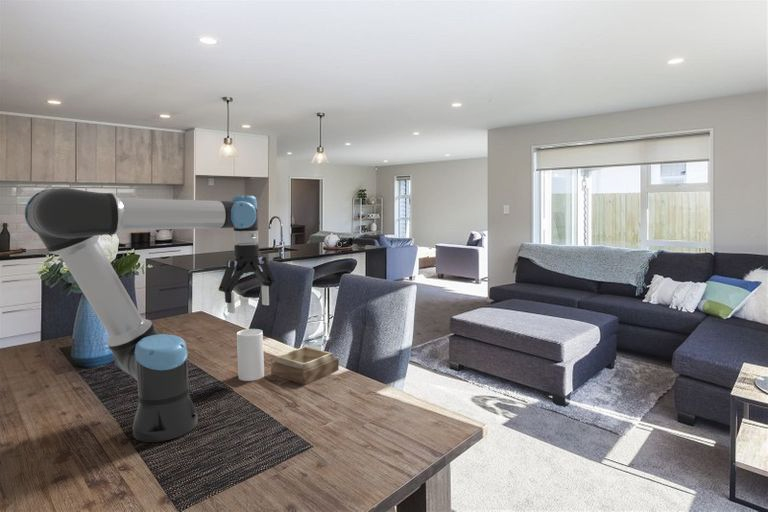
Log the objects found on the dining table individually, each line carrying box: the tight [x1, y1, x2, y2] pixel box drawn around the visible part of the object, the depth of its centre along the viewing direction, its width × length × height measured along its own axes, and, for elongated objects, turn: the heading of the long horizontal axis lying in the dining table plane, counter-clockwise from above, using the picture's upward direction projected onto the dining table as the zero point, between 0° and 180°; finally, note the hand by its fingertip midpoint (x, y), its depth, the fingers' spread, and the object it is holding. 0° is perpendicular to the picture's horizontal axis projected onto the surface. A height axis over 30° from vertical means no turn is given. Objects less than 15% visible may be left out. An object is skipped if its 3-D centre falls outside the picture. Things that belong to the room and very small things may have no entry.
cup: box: [236, 328, 265, 382], centre depth 148 cm, size 8×8×16 cm
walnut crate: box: [270, 356, 340, 386], centre depth 152 cm, size 16×16×5 cm
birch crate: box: [275, 345, 334, 371], centre depth 152 cm, size 13×13×6 cm
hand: (249, 308), depth 146 cm, fingers open, 13 cm apart
